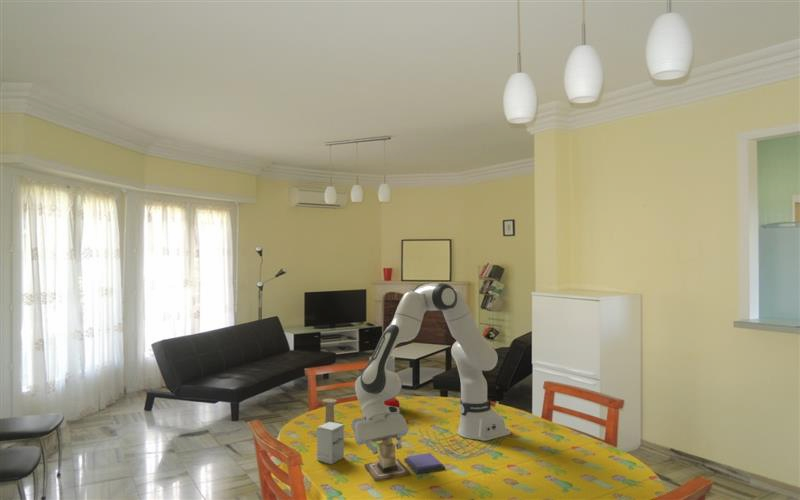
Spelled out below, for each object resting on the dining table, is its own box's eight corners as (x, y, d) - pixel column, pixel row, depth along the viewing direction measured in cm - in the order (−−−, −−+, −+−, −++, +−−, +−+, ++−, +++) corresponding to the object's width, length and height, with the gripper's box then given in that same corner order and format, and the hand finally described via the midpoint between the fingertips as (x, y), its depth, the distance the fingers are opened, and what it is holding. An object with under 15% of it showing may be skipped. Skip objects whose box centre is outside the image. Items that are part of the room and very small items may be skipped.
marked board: (398, 460, 189) (398, 458, 189) (411, 475, 177) (411, 472, 177) (364, 466, 184) (364, 463, 184) (375, 481, 172) (375, 478, 172)
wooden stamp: (391, 464, 184) (391, 436, 184) (397, 470, 179) (397, 441, 179) (377, 466, 182) (376, 438, 182) (382, 472, 177) (382, 444, 177)
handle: (332, 439, 212) (331, 403, 212) (320, 436, 215) (320, 400, 215) (339, 435, 216) (339, 400, 216) (327, 432, 219) (327, 397, 219)
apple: (387, 425, 228) (387, 400, 228) (374, 420, 236) (374, 396, 236) (404, 420, 235) (403, 396, 235) (390, 415, 242) (390, 392, 242)
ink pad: (431, 456, 192) (431, 451, 192) (445, 469, 181) (445, 464, 181) (404, 461, 189) (404, 456, 189) (416, 474, 177) (416, 468, 177)
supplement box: (331, 464, 186) (331, 430, 186) (316, 460, 190) (316, 426, 190) (344, 457, 192) (344, 424, 193) (329, 453, 196) (329, 420, 196)
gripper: (352, 415, 182) (363, 452, 173) (402, 406, 192) (415, 441, 183) (347, 424, 186) (358, 460, 177) (397, 415, 195) (409, 449, 187)
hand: (387, 450), depth 180 cm, fingers open, 8 cm apart
